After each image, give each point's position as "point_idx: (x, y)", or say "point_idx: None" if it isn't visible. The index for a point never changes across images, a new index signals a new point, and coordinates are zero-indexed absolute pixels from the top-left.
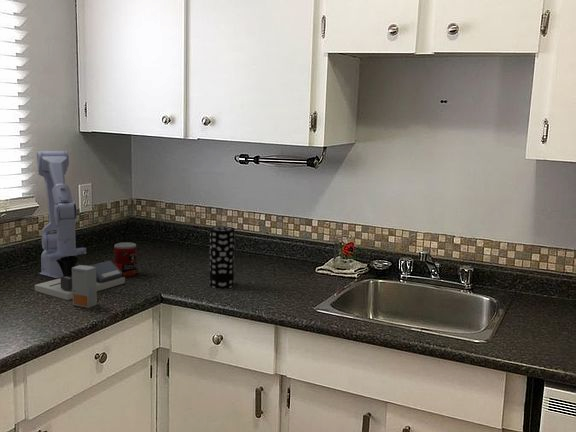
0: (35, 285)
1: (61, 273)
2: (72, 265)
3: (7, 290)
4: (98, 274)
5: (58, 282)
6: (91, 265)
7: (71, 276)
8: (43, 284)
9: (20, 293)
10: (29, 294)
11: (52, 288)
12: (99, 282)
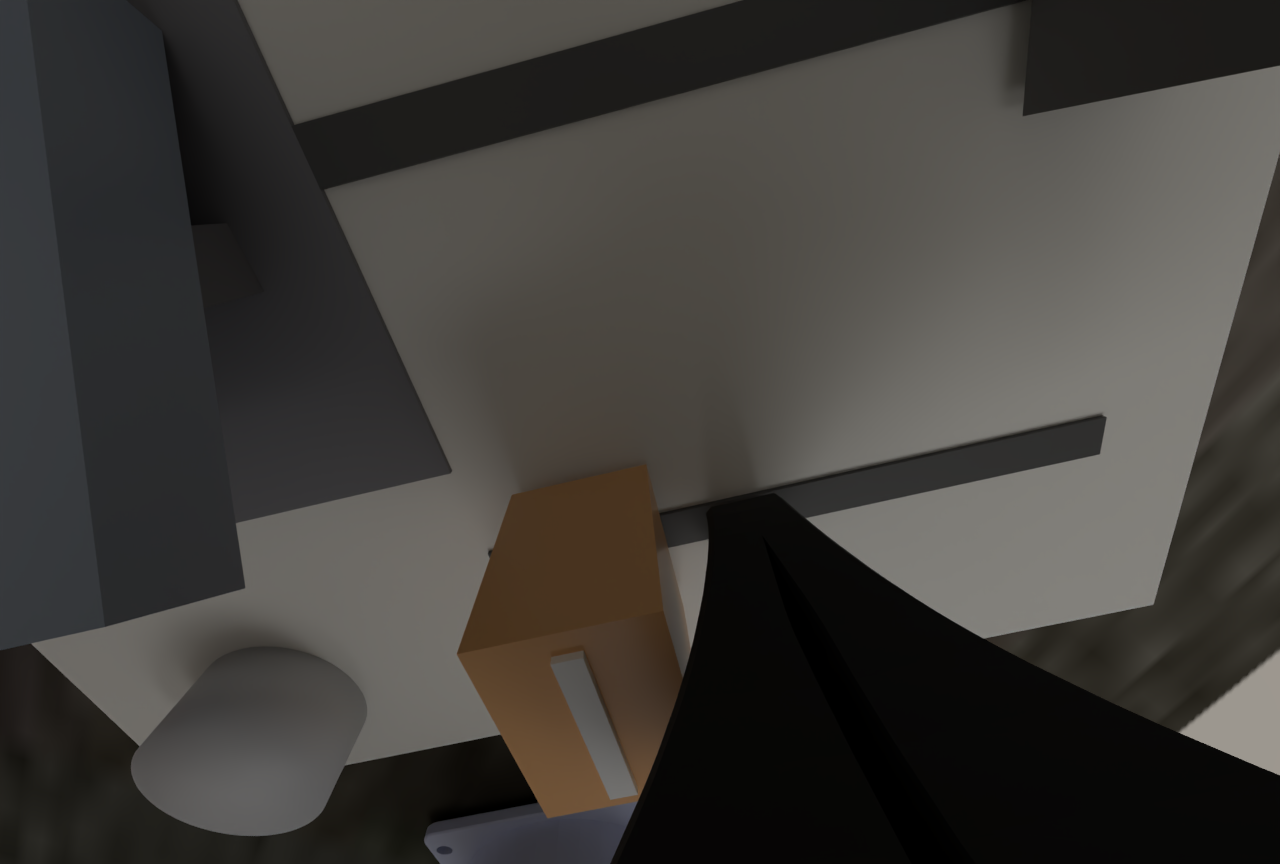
0: (1151, 587)
1: (578, 843)
2: (792, 736)
3: (1202, 691)
4: (30, 109)
5: (869, 539)
6: (31, 622)
7: (669, 572)
8: (1072, 564)
9: (1237, 550)
10: (1227, 461)
11: (1190, 277)
12: (209, 3)
